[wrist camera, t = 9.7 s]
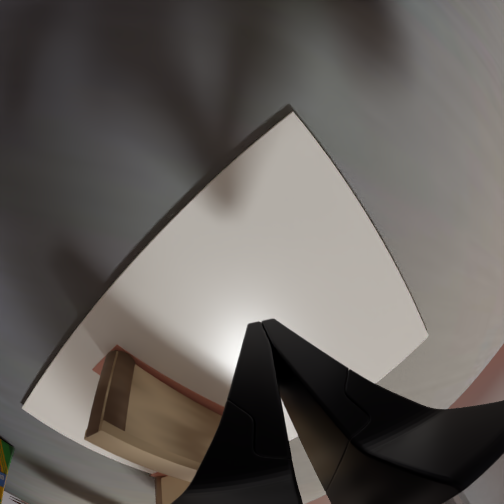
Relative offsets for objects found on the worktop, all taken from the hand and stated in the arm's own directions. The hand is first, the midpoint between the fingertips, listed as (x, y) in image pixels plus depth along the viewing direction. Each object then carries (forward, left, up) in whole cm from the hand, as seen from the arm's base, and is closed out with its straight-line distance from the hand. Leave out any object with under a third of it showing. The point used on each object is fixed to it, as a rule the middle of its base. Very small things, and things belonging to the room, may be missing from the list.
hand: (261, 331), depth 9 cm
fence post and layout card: (-5, +8, -4) cm, 10 cm away
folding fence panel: (-4, +8, -3) cm, 9 cm away
